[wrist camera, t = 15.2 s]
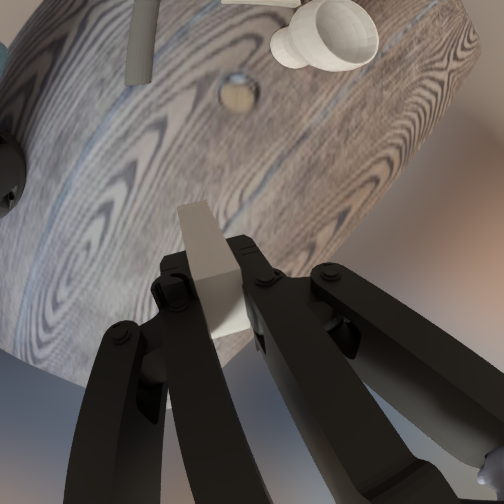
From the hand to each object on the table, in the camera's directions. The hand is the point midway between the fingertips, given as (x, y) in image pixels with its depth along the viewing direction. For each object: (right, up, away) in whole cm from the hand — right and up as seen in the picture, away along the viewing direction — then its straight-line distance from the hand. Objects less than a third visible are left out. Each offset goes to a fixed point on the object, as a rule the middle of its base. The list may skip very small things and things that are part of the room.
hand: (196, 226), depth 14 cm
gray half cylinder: (-13, +31, +12) cm, 36 cm away
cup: (+9, +31, +20) cm, 38 cm away
